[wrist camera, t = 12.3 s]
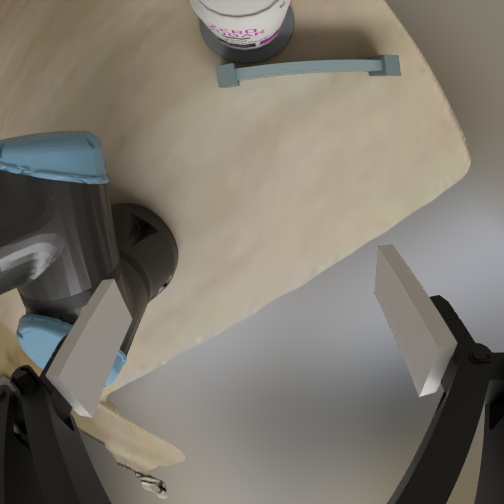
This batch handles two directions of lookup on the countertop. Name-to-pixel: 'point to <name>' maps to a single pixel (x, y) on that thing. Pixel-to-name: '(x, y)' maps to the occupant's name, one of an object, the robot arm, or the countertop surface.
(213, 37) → the coaster
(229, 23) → the supplement can
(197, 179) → the countertop surface
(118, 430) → the countertop surface
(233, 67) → the handle
